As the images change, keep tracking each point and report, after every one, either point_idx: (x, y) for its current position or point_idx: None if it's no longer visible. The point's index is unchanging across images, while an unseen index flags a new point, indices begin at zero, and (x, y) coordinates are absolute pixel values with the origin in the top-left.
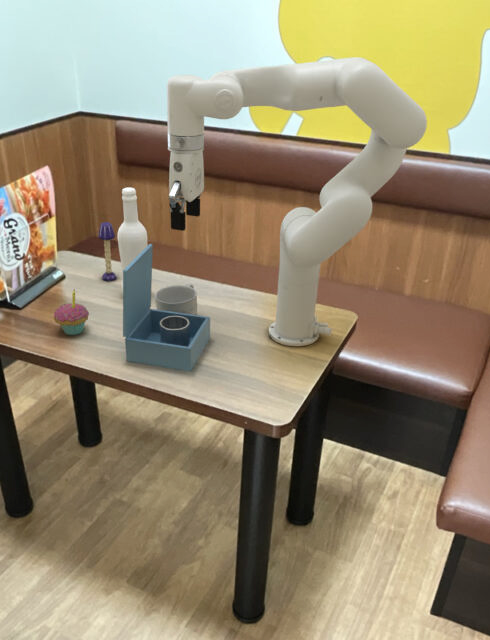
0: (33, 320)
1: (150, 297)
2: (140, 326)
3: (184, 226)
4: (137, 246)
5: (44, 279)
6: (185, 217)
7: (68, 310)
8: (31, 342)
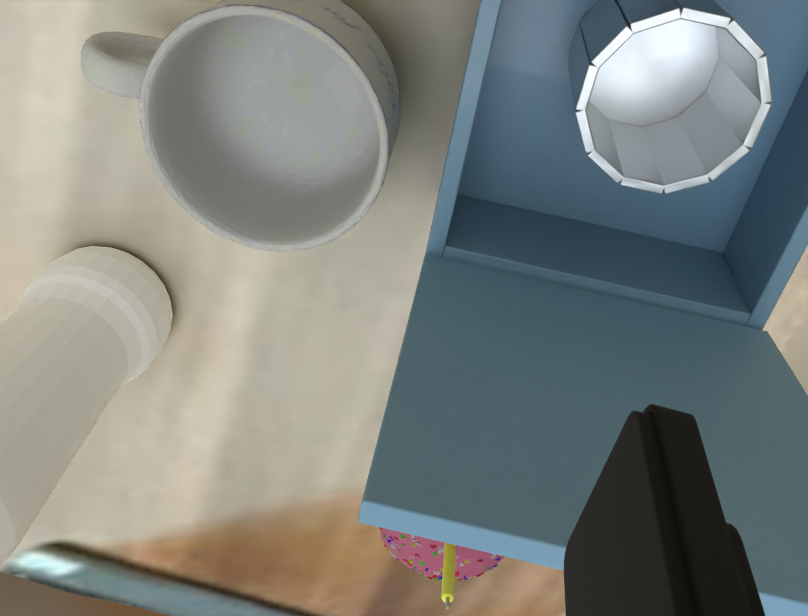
0: (391, 582)
1: (430, 283)
2: (602, 274)
3: (699, 455)
4: (6, 457)
5: (96, 591)
6: (693, 565)
7: (474, 554)
8: (542, 568)
